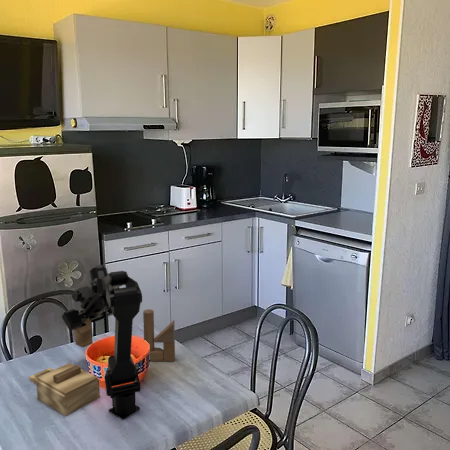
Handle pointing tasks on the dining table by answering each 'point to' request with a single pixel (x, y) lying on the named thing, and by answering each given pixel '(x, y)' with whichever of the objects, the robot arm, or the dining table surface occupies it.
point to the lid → (67, 379)
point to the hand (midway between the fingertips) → (80, 324)
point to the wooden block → (159, 338)
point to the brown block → (84, 334)
